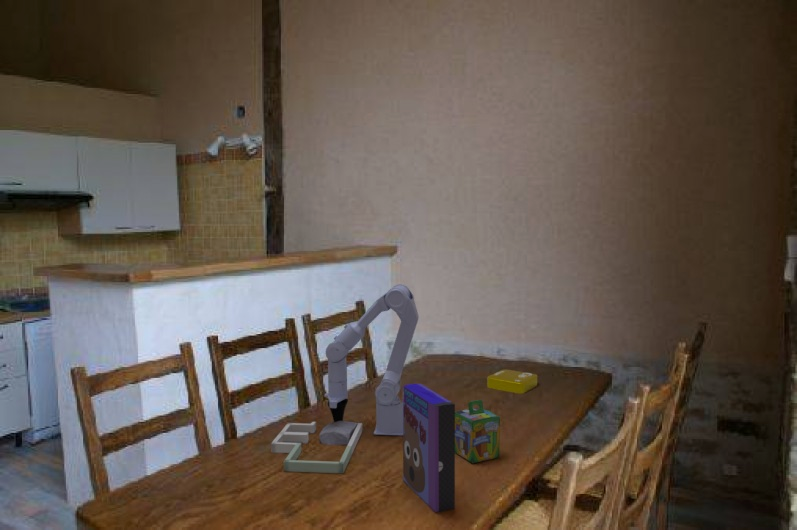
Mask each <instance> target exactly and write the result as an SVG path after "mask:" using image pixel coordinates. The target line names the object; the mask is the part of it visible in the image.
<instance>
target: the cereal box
mask: <svg viewBox="0 0 797 530" xmlns="http://www.w3.org/2000/svg"><path fill="white" fill-rule="evenodd" d="M402 402H403V435H402V462H403V463H402V465H403V466H402V468H403V469H402V473H403V475H402V478H403V480H402V481H403V482H404V483H405V484H406V485H407V486H408V487H409V489H410V490H412V491H413V493H414V494H415V495H416V496H418V497H419V498H420V500H422V502H424V504H426V506H427V507H429V509H431V510H432V512H433V513H435V514H438V513H439V514H440V513H443V512H447V511H451V510H455V508H456V503H455V501H456V496H455V495H456V492H455V491H456V488H455V487H456V486H455V485H456V482H455V480H456V478H455V477H456V473H455V472H456V469H455V468H456V465H455V464H456V453H455V412H456V404H455V403H454V402H452V401H450V400H449V399H447V398H445V397H443V396H442V395H440V394H438V393H437V392H435V391H433V390H432V389H430V388H429V387H427V386H426V385H424V384H422V383H411V384H405V385H402Z"/></svg>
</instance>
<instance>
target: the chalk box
mask: <svg viewBox="0 0 797 530" xmlns="http://www.w3.org/2000/svg"><path fill="white" fill-rule="evenodd" d="M475 405H477V406H478V407H475V408H474V406H475ZM467 406H468V408H467V409H466V408H465V409H461V410H458V411H456V410H455V454H457V455H458V456H460V457H462V458H463V459H465V460H467V461H468V462H469V463H470V464H477V463H480V462H485V461H489V460H495V459H499V458H500V441H501V440H500V436H501V435H500V431H501V417H500V416H499V415H498V414H495V413H493V412H492V411H491V410H487V409H484V405H483V400H482V399H476V400H472V401H468V403H467Z"/></svg>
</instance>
